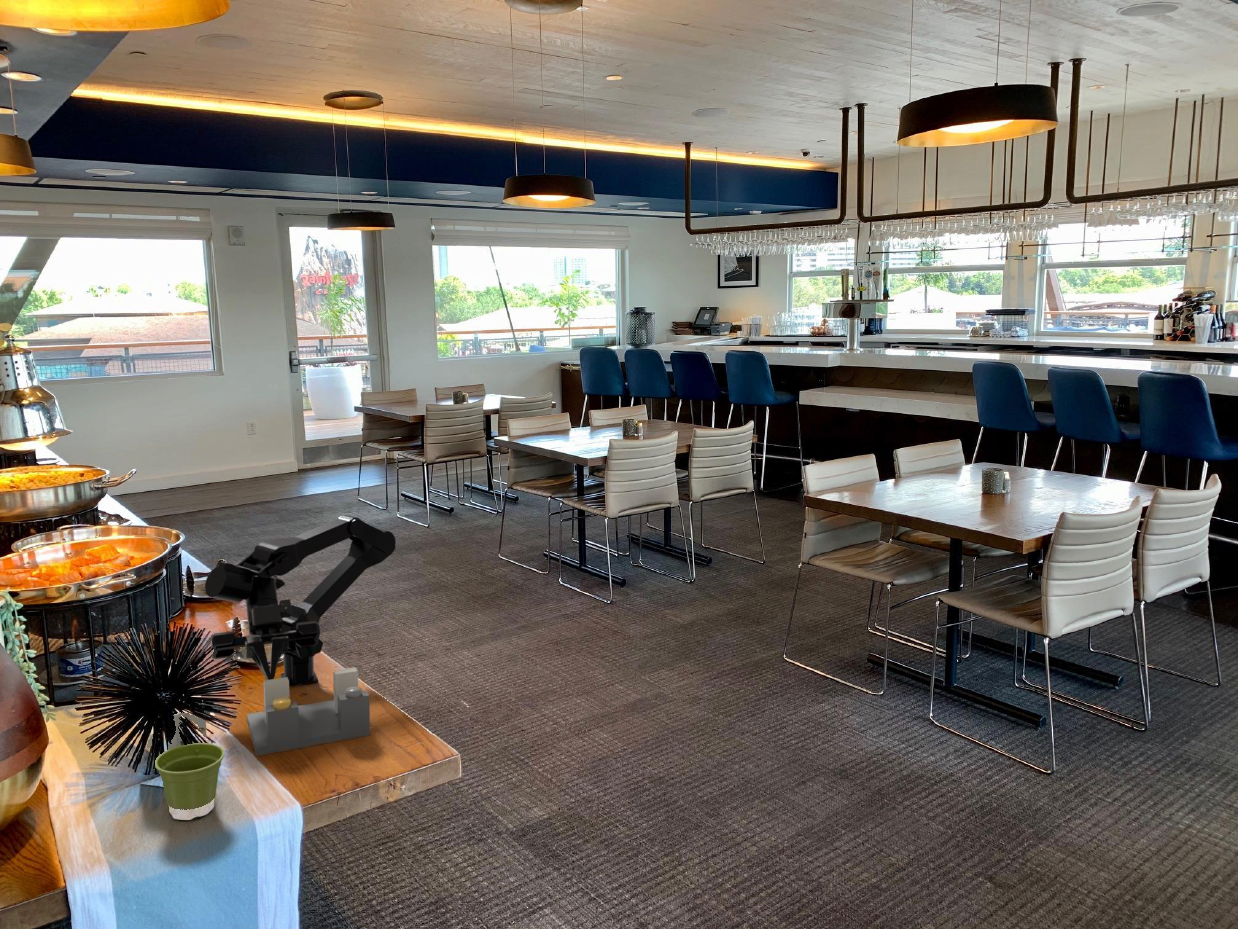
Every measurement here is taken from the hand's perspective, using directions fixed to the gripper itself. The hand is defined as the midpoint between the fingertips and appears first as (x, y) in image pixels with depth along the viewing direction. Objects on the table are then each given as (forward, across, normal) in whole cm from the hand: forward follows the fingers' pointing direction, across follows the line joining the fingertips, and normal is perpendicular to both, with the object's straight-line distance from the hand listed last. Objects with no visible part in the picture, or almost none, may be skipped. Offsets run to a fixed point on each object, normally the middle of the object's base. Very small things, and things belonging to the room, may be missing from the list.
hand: (271, 682), depth 167 cm
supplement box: (+16, -16, -6) cm, 24 cm away
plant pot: (+25, -14, -14) cm, 32 cm away
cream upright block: (+7, +12, 0) cm, 14 cm away
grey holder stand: (+10, +5, +1) cm, 11 cm away
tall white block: (+8, 0, 0) cm, 8 cm away
